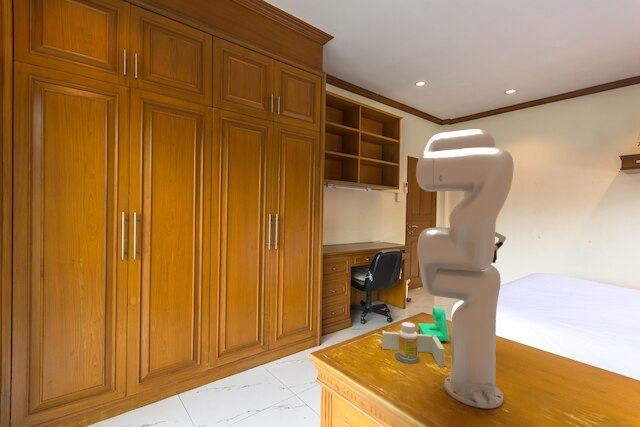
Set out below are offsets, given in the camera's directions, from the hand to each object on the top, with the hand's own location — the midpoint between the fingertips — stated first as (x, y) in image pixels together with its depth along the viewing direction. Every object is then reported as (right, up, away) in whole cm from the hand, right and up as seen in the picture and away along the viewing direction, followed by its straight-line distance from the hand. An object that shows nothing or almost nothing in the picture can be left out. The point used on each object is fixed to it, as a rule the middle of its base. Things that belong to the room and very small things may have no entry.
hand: (476, 261), depth 96 cm
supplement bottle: (-24, -28, -7) cm, 38 cm away
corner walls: (-23, -28, -6) cm, 37 cm away
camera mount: (-10, -29, +10) cm, 32 cm away
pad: (-25, -28, -7) cm, 38 cm away
